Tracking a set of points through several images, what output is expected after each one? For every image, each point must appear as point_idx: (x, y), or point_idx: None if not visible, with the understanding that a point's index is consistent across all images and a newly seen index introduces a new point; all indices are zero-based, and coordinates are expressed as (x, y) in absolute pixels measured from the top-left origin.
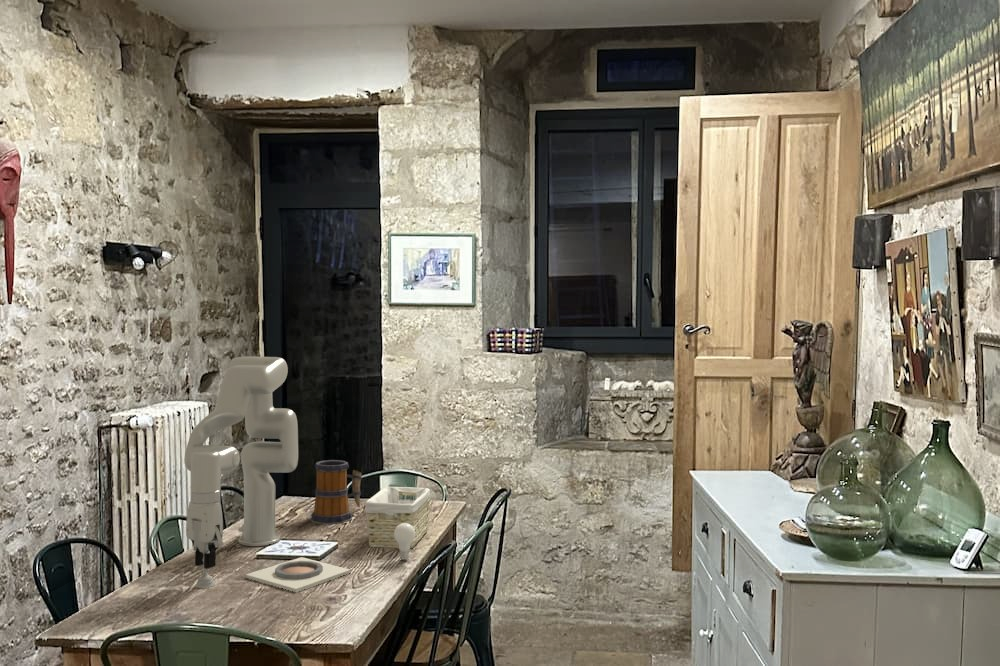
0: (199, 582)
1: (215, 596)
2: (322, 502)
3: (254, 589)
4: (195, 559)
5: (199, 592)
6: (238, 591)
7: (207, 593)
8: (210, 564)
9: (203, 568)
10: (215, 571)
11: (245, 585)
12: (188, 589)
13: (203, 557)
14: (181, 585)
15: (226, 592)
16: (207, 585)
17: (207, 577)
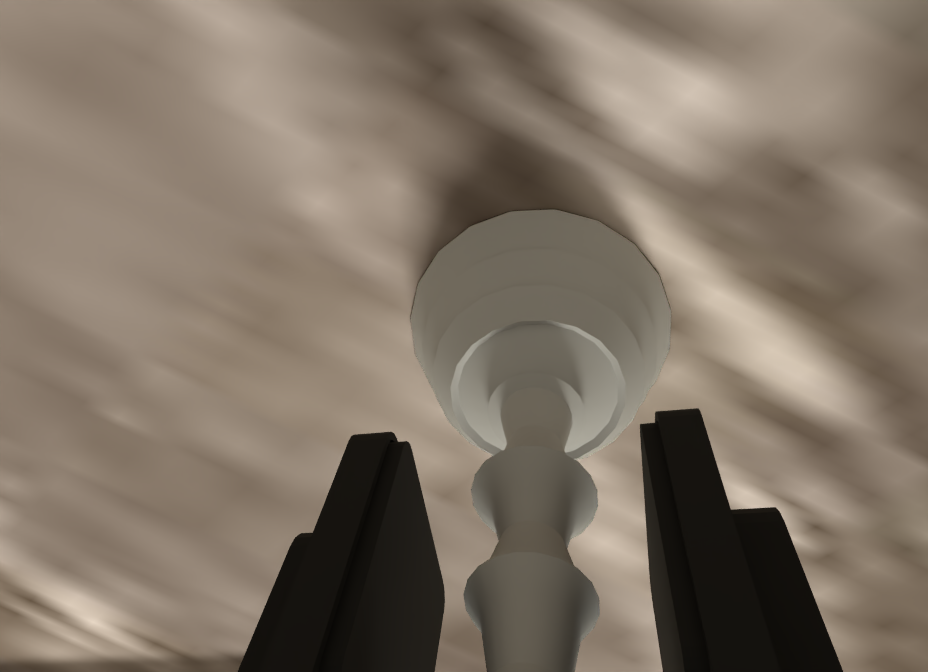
0: (505, 267)
1: (19, 202)
2: None
3: (48, 566)
4: (704, 494)
5: (299, 133)
6: (67, 453)
7: (192, 189)
8: (303, 547)
9: (516, 449)
10: (906, 635)
11: (218, 578)
12: (538, 81)
13: (529, 622)
14: (804, 96)
15: (101, 359)
16: (423, 318)
17: (466, 394)
